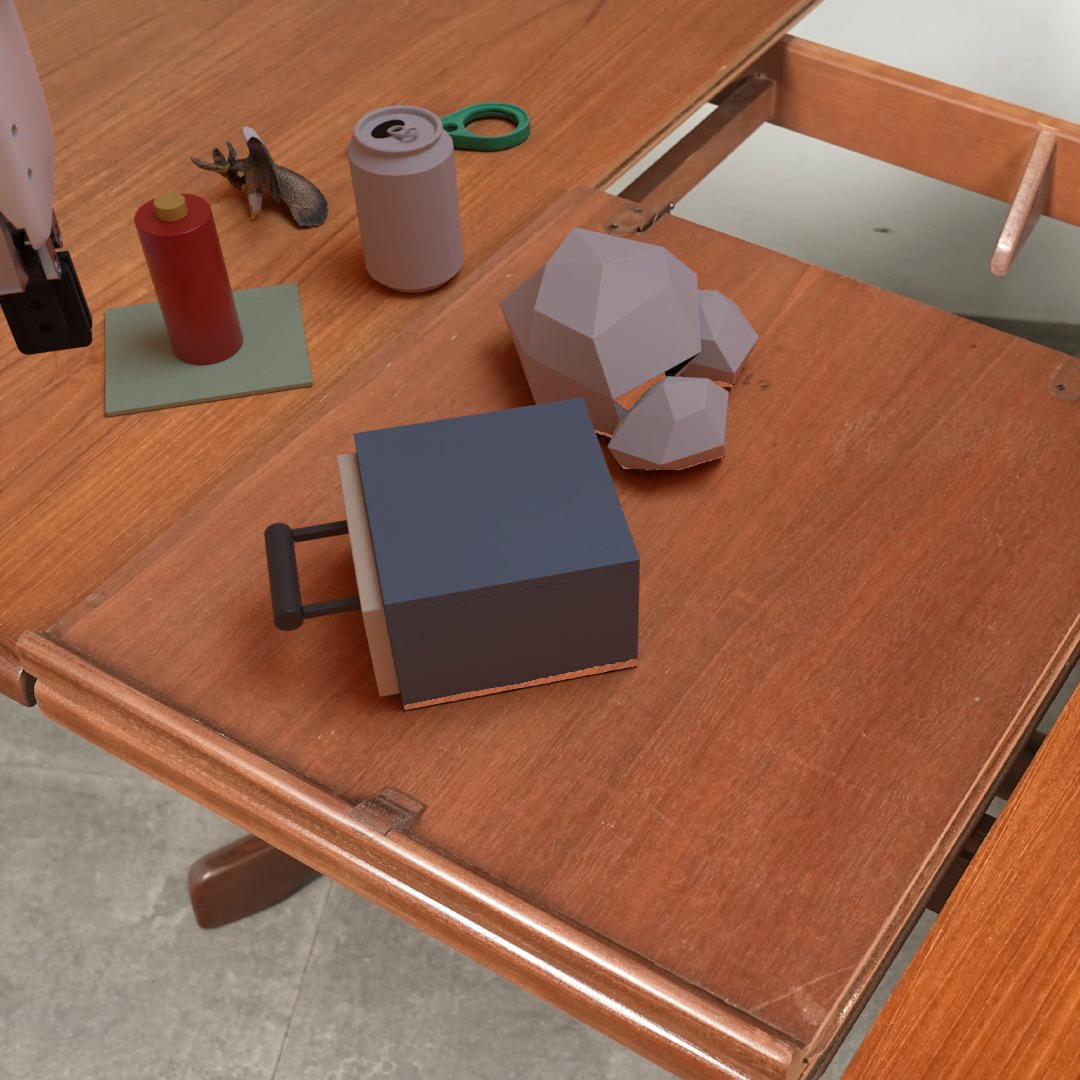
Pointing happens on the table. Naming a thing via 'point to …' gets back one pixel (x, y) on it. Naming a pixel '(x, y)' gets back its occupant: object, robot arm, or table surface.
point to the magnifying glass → (469, 140)
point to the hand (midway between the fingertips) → (57, 339)
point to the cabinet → (499, 549)
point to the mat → (166, 381)
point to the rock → (631, 346)
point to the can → (406, 198)
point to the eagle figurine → (268, 181)
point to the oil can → (189, 277)
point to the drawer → (370, 594)
